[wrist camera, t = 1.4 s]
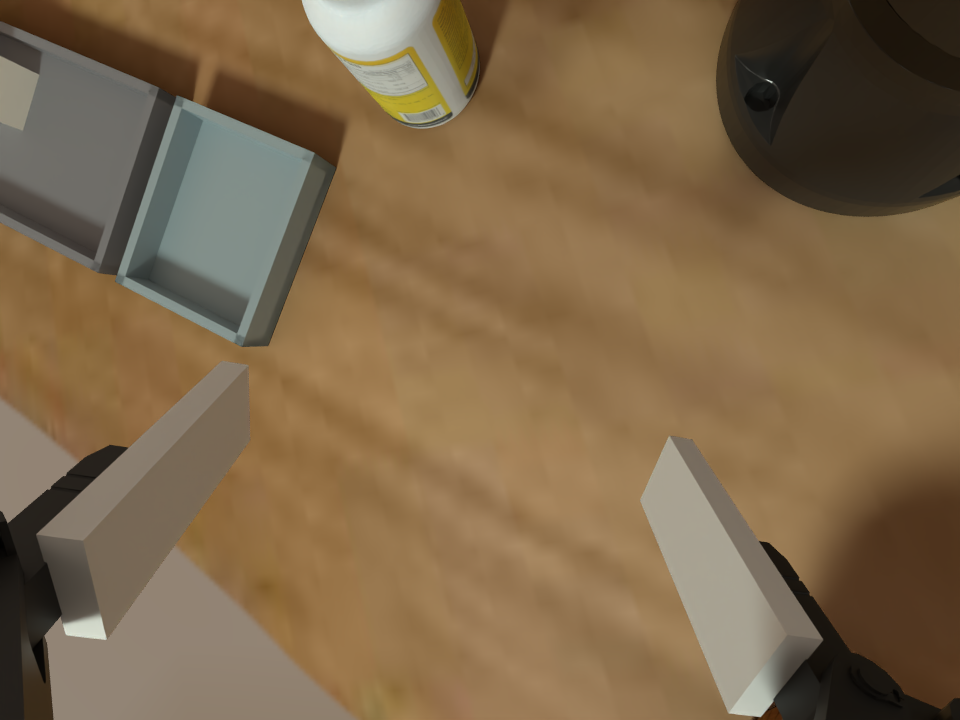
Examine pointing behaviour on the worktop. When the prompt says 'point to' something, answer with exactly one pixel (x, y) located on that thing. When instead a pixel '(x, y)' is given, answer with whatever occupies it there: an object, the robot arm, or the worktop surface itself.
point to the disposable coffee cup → (771, 715)
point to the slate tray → (224, 223)
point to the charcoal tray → (78, 152)
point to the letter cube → (15, 93)
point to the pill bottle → (404, 53)
